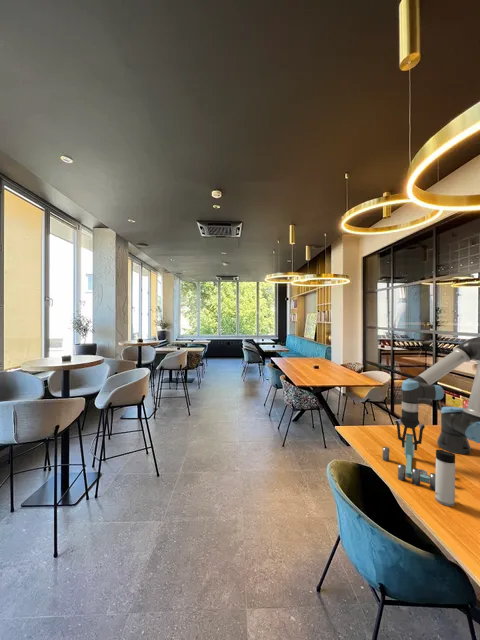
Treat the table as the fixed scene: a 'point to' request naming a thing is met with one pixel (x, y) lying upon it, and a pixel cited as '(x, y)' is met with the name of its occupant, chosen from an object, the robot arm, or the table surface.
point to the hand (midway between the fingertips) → (409, 454)
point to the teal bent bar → (410, 456)
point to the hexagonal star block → (423, 472)
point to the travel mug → (445, 478)
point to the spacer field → (414, 472)
